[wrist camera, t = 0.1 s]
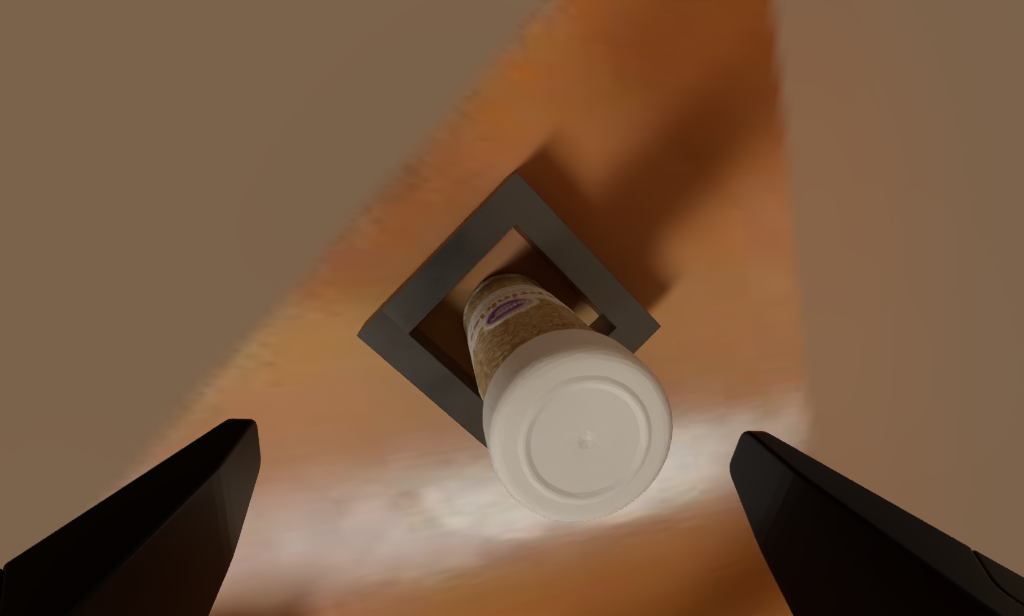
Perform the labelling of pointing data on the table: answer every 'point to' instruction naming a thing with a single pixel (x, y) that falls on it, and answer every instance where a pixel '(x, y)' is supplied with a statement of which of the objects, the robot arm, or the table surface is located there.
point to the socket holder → (455, 258)
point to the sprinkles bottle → (562, 404)
